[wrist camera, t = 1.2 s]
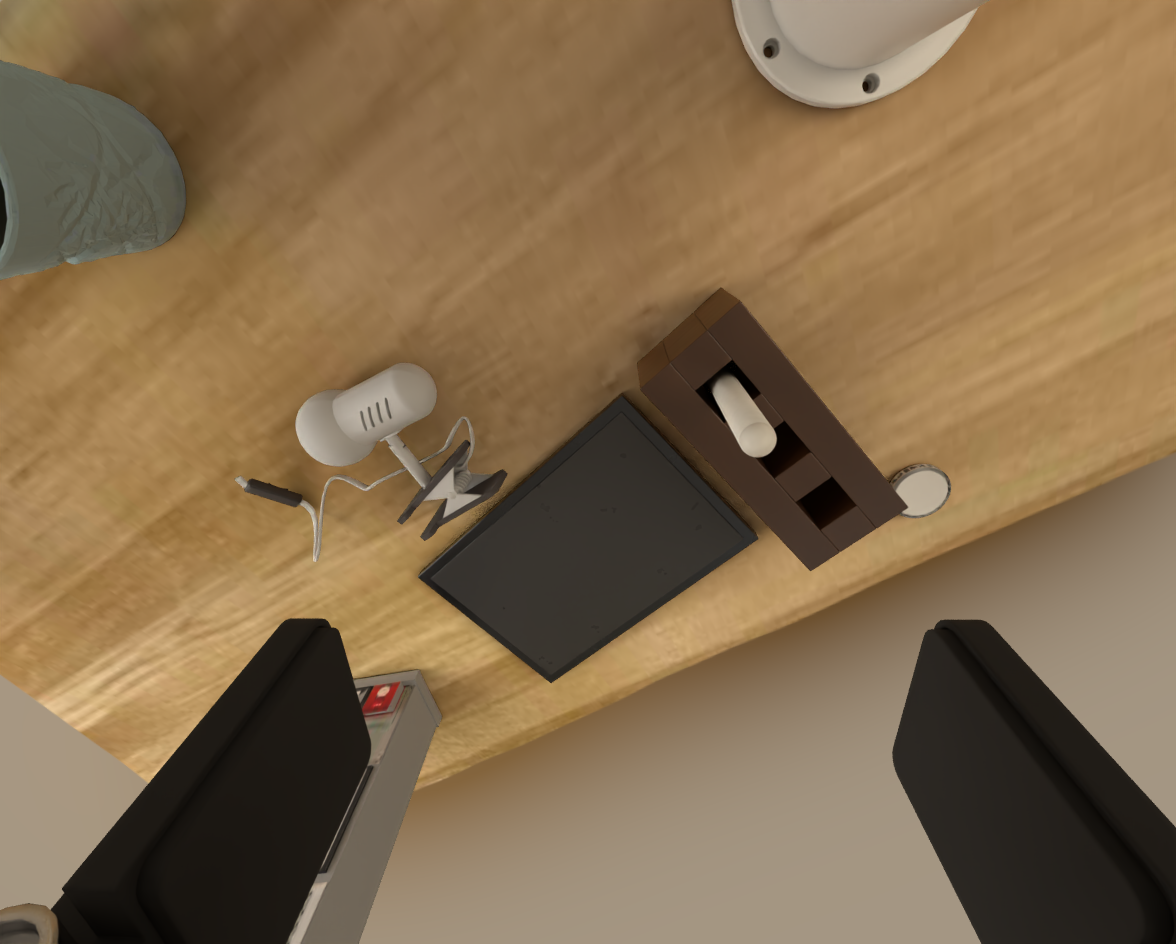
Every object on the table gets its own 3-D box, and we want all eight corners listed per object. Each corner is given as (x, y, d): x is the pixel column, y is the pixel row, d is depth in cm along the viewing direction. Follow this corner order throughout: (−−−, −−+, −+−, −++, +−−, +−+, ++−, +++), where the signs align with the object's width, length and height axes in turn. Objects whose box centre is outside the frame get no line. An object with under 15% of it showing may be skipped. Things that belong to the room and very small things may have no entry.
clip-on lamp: (355, 535, 47) (524, 472, 39) (311, 591, 42) (495, 531, 34) (251, 426, 42) (422, 327, 34) (186, 474, 37) (369, 372, 29)
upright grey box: (419, 664, 49) (245, 1053, 26) (443, 713, 51) (303, 1108, 29) (280, 687, 51) (8, 1065, 28) (310, 733, 53) (81, 1115, 31)
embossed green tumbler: (27, 45, 31) (-298, -48, 20) (209, 118, 32) (-3, 67, 21) (38, 231, 35) (-225, 238, 24) (199, 290, 36) (18, 322, 25)
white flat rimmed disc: (957, 491, 39) (962, 495, 38) (906, 524, 40) (910, 528, 40) (927, 453, 38) (932, 456, 37) (876, 487, 39) (879, 491, 39)
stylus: (713, 348, 36) (765, 421, 23) (729, 366, 36) (788, 447, 24) (694, 365, 36) (735, 445, 24) (709, 382, 37) (757, 469, 24)
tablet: (622, 391, 37) (622, 395, 37) (756, 533, 41) (759, 539, 41) (420, 571, 44) (416, 578, 44) (551, 676, 49) (550, 684, 48)
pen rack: (721, 287, 34) (740, 300, 29) (868, 466, 39) (909, 507, 33) (636, 363, 36) (639, 389, 31) (785, 524, 41) (810, 571, 36)
